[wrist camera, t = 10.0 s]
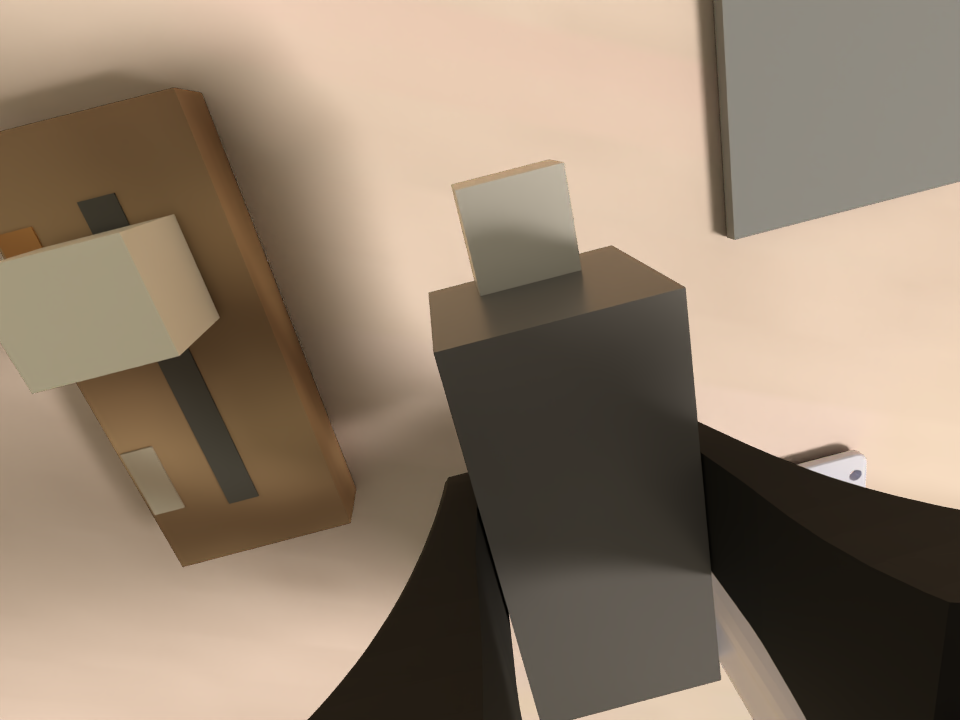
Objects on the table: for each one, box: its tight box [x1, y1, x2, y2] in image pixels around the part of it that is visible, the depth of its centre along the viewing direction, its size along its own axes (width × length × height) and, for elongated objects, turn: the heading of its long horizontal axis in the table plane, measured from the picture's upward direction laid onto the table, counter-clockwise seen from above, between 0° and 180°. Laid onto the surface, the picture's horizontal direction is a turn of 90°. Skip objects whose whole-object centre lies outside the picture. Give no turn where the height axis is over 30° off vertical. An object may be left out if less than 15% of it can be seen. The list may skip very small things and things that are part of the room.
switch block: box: [0, 88, 356, 567], centre depth 18 cm, size 14×6×2 cm, turn 13°
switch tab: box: [0, 214, 220, 394], centre depth 14 cm, size 3×4×3 cm
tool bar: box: [429, 160, 721, 720], centre depth 12 cm, size 11×4×4 cm, turn 13°
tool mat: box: [713, 0, 960, 240], centre depth 17 cm, size 12×8×1 cm, turn 13°
